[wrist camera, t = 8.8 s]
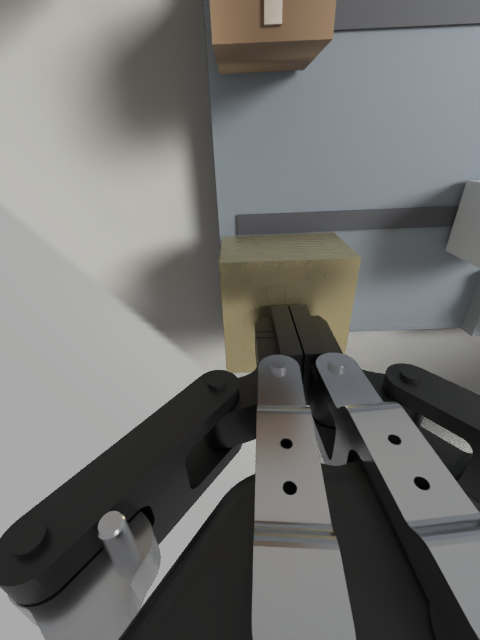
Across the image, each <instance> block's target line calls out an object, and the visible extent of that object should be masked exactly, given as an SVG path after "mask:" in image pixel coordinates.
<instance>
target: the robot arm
mask: <svg viewBox="0 0 480 640" xmlns="http://www.w3.org/2000/svg"><path fill="white" fill-rule="evenodd" d="M255 356H256V367H257V368H256V369H255V370H254V371H253V372H252V373H250V374H248V375H246V376H243V377H240V378H237V377H236V376H235V375H234V374H233V373H231V372H228V371H225V370H214V371H210V372H207V373H205V374H203V375H202V376H201V377H199V378H198V379H197V380H195V381H194V382H193V383H192V384H190V385H189V386H188V387H187V388H185V389H184V390H183V391H181V392H180V393H179V394H178V395H176V396H175V397H174V398H173V399H171V400H170V401H169V402H168V403H166V404H165V405H164V406H162V407H161V408H160V409H158V410H157V411H156V412H155V413H153V414H152V415H151V416H149V417H148V418H147V419H146V420H145V421H143V422H142V423H141V424H139V425H138V426H137V427H135V428H134V429H133V430H132V431H130V432H129V433H128V434H127V435H125V436H124V437H123V438H121V439H120V440H119V441H118V442H117V443H115V444H114V445H113V446H111V447H110V448H109V449H108V450H106V451H105V452H104V453H102V454H101V455H100V456H99V457H97V458H96V459H95V460H93V461H92V462H91V463H90V464H88V465H87V466H86V467H85V468H83V469H82V470H81V471H80V472H78V473H77V474H76V475H74V476H73V477H72V478H71V479H69V480H68V481H67V482H65V483H64V484H63V485H62V486H60V487H59V488H58V489H57V490H55V491H54V492H53V493H51V494H50V495H49V496H48V497H46V498H45V499H44V500H43V501H41V502H40V503H39V504H37V505H36V506H35V507H34V508H32V509H31V510H30V511H29V512H27V513H26V514H25V515H23V516H22V517H21V518H20V519H19V520H17V521H16V522H15V523H14V524H13V525H11V527H10V528H9V529H8V530H7V531H6V532H5V533H4V534H3V536H2V537H1V538H0V587H1V588H2V589H3V590H4V591H5V592H6V593H7V594H8V597H9V599H10V601H11V602H12V603H13V604H14V605H15V606H16V607H17V608H18V609H19V610H20V611H21V612H22V613H23V614H24V615H25V616H26V617H27V618H28V619H29V620H30V621H31V622H32V623H33V624H35V625H36V626H38V627H39V628H40V630H41V632H42V634H43V636H44V638H45V640H480V395H478V394H475V393H473V392H471V391H469V390H467V389H465V388H462V387H460V386H458V385H456V384H454V383H452V382H450V381H447V380H445V379H443V378H441V377H439V376H437V375H434V374H432V373H430V372H428V371H426V370H424V369H422V368H419V367H417V366H414V365H410V364H394V365H391V366H389V367H388V368H387V370H386V373H385V374H381V373H375V372H369V371H365V370H362V369H361V368H360V367H359V365H358V364H357V362H356V361H355V360H354V359H352V358H351V357H349V356H347V355H344V354H343V352H342V350H341V348H340V346H339V344H338V342H337V340H336V339H335V337H334V336H333V333H332V331H331V330H330V327H329V325H328V323H327V321H326V320H324V319H323V318H322V317H320V316H319V315H315V316H311V315H310V313H309V310H308V308H307V306H306V305H288V306H287V305H285V306H270V317H267V318H259V319H258V320H257V322H256V323H255ZM306 405H309V406H310V407H306ZM424 417H426V418H428V419H429V420H431V421H433V422H435V423H436V424H438V425H440V426H442V427H444V428H445V429H447V430H449V431H451V432H452V433H454V434H456V435H458V436H459V437H461V438H463V439H464V440H466V441H467V442H468V443H469V445H470V446H471V448H472V450H473V454H471V453H466V452H463V451H462V450H460V449H458V448H456V447H455V446H453V445H451V444H450V443H448V442H446V441H445V440H443V439H441V438H440V437H438V436H436V435H434V434H433V433H431V432H429V431H428V430H426V429H424V428H423V427H421V423H422V420H423V418H424ZM254 439H256V472H255V474H254V475H251V476H249V477H247V478H245V479H244V480H242V481H241V482H239V483H238V484H236V485H235V486H234V487H233V488H231V489H230V491H229V492H228V493H227V494H226V495H225V496H224V497H223V498H222V500H221V501H220V502H219V504H218V505H217V506H216V508H215V509H214V511H213V512H212V513H211V515H210V516H209V517H208V519H207V520H206V521H205V523H204V524H203V525H202V527H201V528H200V529H199V531H198V532H197V534H196V535H195V536H194V537H193V539H192V540H191V542H190V543H189V544H188V546H187V547H186V548H185V550H184V551H183V552H182V554H181V555H180V556H179V558H178V559H177V561H176V562H175V563H174V565H173V566H172V567H171V569H170V570H169V571H168V573H167V574H166V576H165V577H164V578H163V579H162V581H161V582H160V584H159V585H158V586H157V588H156V589H155V590H154V592H153V593H152V594H151V596H150V597H149V598H148V600H147V601H146V602H145V604H144V605H143V606H142V603H143V600H144V597H145V595H146V593H147V591H148V590H149V588H150V586H151V585H152V583H153V581H154V580H155V578H156V575H157V574H158V571H159V567H160V559H161V555H160V549H159V546H158V545H159V544H160V543H161V541H162V540H163V539H164V538H165V537H166V535H167V534H168V533H169V532H170V531H171V530H172V529H173V527H174V526H175V525H176V524H177V523H178V522H179V520H180V519H181V518H182V517H183V516H184V515H185V513H186V512H187V511H188V510H189V509H190V507H191V506H192V505H193V504H194V503H195V502H196V501H197V499H198V498H199V497H200V496H201V495H202V494H203V492H204V491H205V490H206V489H207V488H208V487H209V486H210V484H211V483H212V482H213V481H214V479H215V478H216V477H217V476H218V475H219V474H220V473H221V472H222V470H223V469H224V468H225V467H226V466H227V465H228V463H229V462H230V461H231V460H232V459H233V458H234V456H235V455H236V454H237V453H238V452H239V450H240V449H241V446H242V443H245V442H248V441H251V440H254ZM317 444H318V446H319V449H320V452H321V455H322V458H323V460H324V463H325V464H322V463H320V457H319V452H318V446H317ZM141 606H142V608H141Z"/></svg>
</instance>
